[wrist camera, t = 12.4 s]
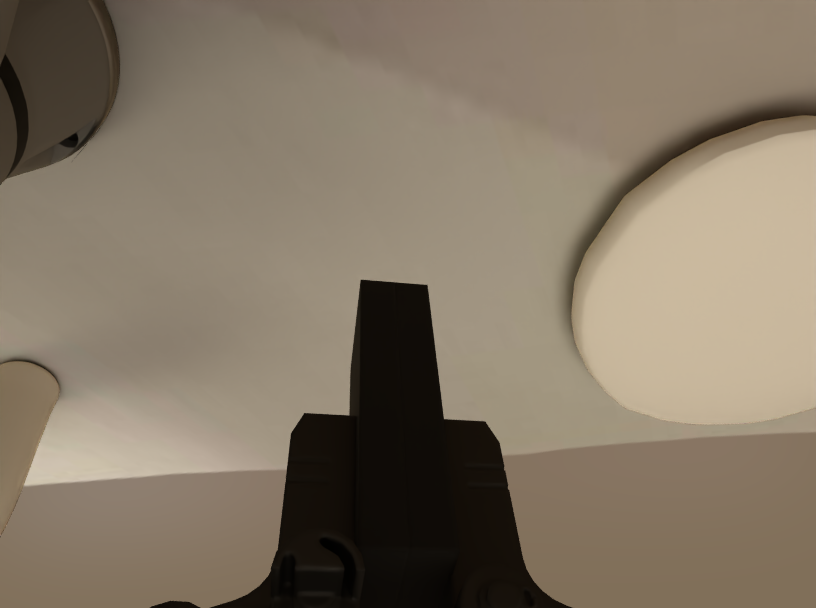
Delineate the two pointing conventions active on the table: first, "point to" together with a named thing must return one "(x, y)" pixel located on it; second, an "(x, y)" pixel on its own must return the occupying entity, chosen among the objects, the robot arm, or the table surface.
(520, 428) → the table surface
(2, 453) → the drinking glass
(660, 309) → the plate
